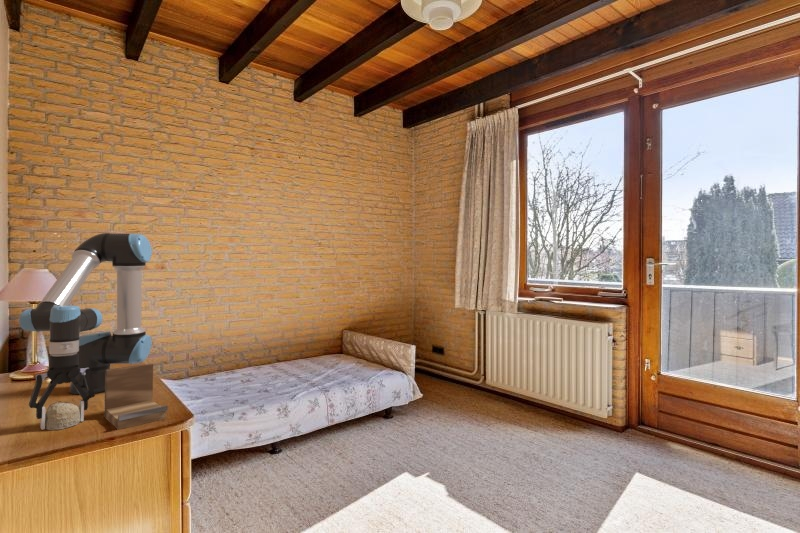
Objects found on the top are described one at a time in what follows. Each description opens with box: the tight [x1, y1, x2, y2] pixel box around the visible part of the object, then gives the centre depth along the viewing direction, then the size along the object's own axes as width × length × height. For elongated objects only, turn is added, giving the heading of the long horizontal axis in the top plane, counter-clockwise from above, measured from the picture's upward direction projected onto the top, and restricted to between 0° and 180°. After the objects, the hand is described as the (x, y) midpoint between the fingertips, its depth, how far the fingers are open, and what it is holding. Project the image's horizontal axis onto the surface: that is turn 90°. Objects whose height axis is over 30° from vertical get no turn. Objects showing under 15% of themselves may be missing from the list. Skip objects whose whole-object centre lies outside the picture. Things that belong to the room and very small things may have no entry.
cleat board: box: [103, 363, 169, 431], centre depth 141 cm, size 17×14×16 cm
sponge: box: [44, 401, 81, 431], centre depth 134 cm, size 9×10×10 cm
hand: (62, 424), depth 134 cm, fingers closed on sponge, 9 cm apart
